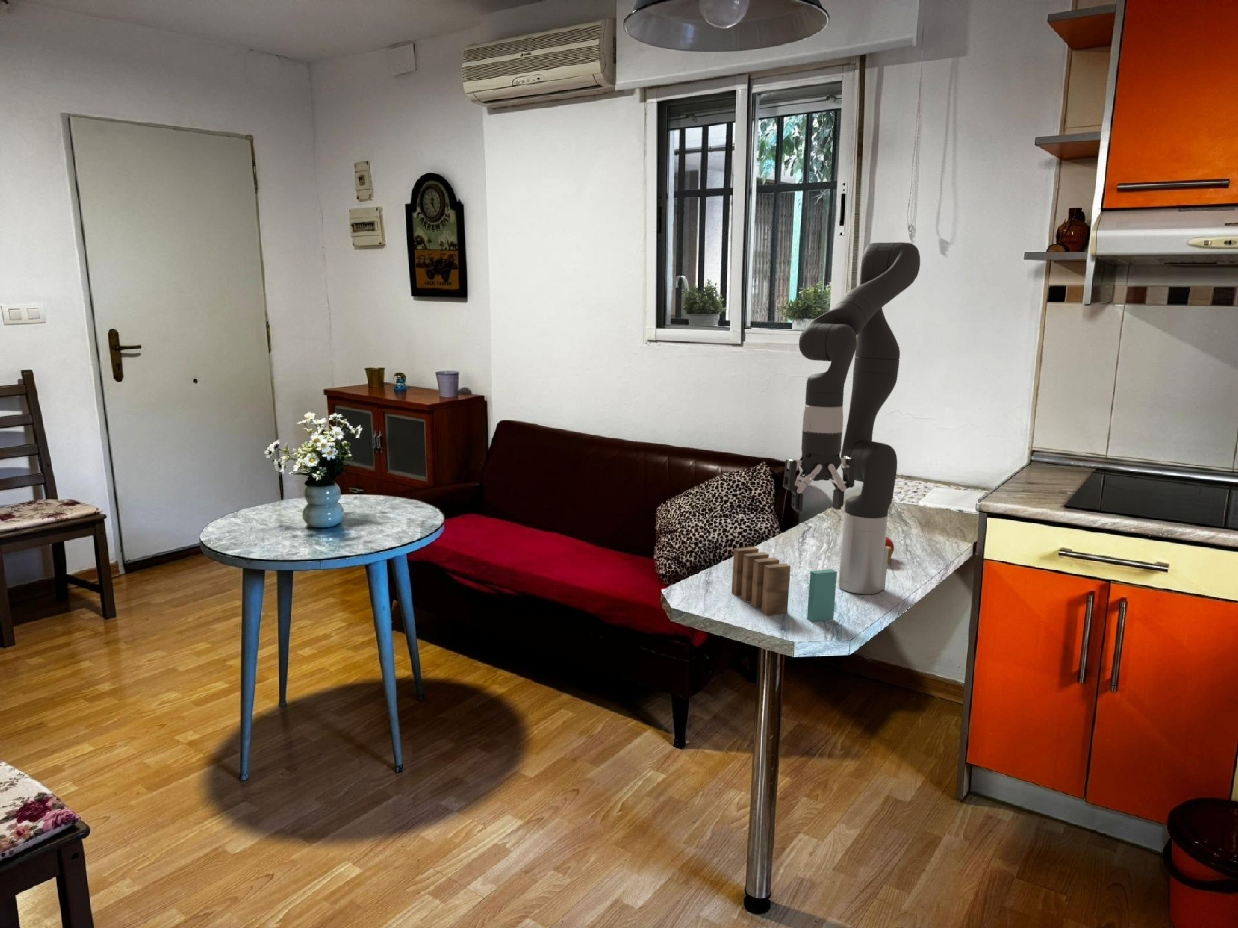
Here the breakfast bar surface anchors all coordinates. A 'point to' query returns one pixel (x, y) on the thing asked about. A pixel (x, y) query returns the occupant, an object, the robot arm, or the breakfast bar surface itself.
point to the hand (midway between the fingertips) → (817, 510)
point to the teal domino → (821, 595)
